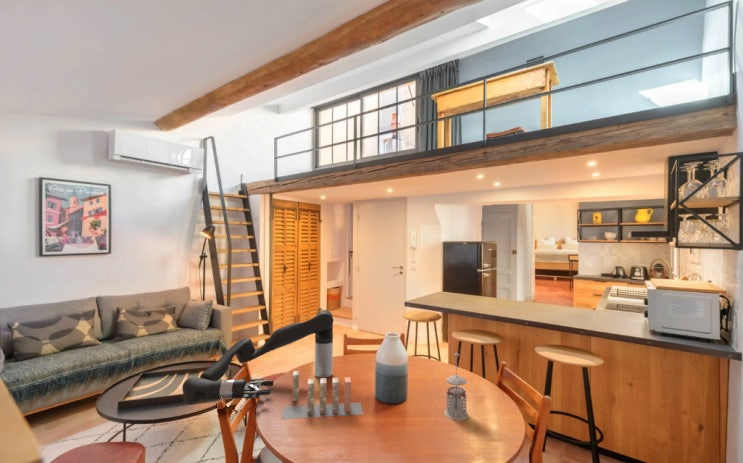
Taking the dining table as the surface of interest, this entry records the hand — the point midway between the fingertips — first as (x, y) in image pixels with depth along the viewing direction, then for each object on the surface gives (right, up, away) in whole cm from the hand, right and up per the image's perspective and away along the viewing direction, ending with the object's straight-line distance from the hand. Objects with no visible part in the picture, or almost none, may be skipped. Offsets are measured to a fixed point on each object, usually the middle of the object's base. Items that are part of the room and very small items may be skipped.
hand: (271, 387), depth 150 cm
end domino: (+34, -6, -7) cm, 35 cm away
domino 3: (+24, -5, -9) cm, 26 cm away
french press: (+78, -7, -10) cm, 79 cm away
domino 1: (+10, -6, +1) cm, 12 cm away
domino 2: (+19, -5, -9) cm, 22 cm away
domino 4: (+29, -5, -8) cm, 30 cm away
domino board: (+24, -6, -9) cm, 26 cm away
